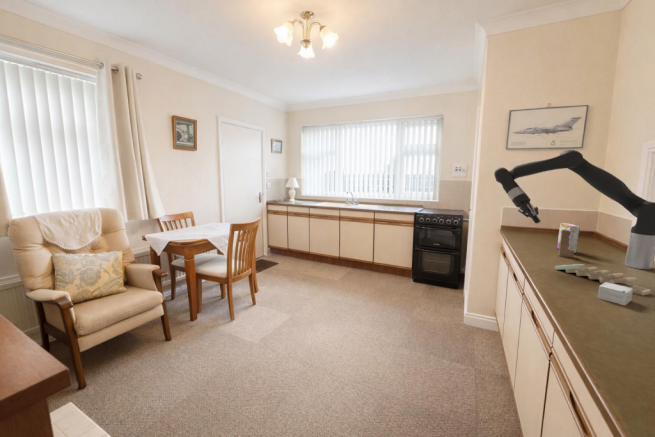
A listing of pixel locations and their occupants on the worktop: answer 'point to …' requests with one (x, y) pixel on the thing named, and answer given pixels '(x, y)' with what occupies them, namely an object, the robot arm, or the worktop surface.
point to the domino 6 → (635, 289)
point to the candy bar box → (570, 235)
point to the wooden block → (565, 245)
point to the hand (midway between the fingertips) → (538, 222)
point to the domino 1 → (569, 266)
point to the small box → (615, 293)
